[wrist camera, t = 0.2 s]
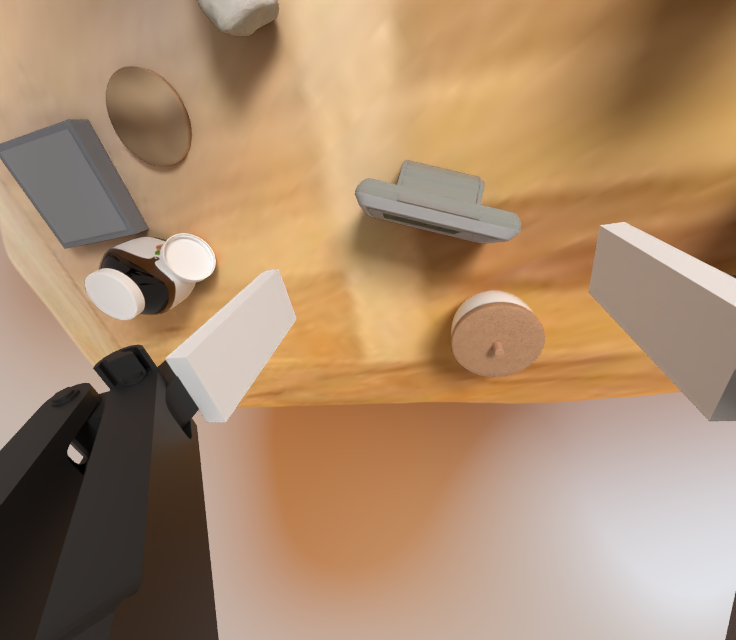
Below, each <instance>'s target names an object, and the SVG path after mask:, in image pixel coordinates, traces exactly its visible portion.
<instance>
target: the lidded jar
mask: <svg viewBox="0 0 736 640" xmlns="http://www.w3.org/2000/svg"><path fill="white" fill-rule="evenodd" d="M544 343H545V333H544V329H543V327H542V324H541V323H540V321H539V320H538V318H537V317H536V316H535V315H534V313H533V312H532V310H531V309H530V308H529V306H528V305H527V304H526V303H525V302H524V301H522V300H521V299H519V298H518V297H517V296H515V295H513V294H510V293H507V292H504V291H498V290H490V291H484V292H480V293H477V294H475V295H473V296H471V297H469V298H468V299H467V300H465V301H464V302H463V303H462V304H461V306H460V307H459V308H458V310H457V311H456V313H455V316H454V318H453V322H452V328H451V348H452V352H453V355H454V357H455V359H456V360H457V361H458V363H459V364H460V365H461V366H463V367H464V368H465V369H467V370H468V371H470V372H473V373H475V374H478V375H481V376H487V377H502V376H508V375H511V374H514V373H517V372H519V371H522V370H523V369H525V368H527V367H528V366H529V365H531V364H532V363H533V362H534V361H535V360H536V359H537V358H538V356H539V355H540V353H541V351H542V349H543V347H544Z"/></svg>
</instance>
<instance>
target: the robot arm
mask: <svg viewBox="0 0 736 640" xmlns="http://www.w3.org/2000/svg"><path fill="white" fill-rule="evenodd" d="M589 293H590V295H591V296H592V297H593V298H594V299H595V300H596V301H597V302H598V303H599V304H600V305H601V306H602V307H603V308H604V309H605V311H606V312H607V313H608V314H609V315H610V316H611V317H612V318H613V319H614V320H615V321H616V322H617V323H618V324H619V325H620V327H621V328H622V329H623V330H624V331H625V332H626V333H627V334H628V335H629V336H630V337H631V338H632V339H633V340H634V341H635V343H636V344H637V345H638V346H639V347H640V348H641V349H642V350H643V351H644V352H645V353H646V354H647V355H648V356H649V357H650V358H651V360H652V361H653V362H654V363H655V364H656V365H657V366H658V367H659V368H660V369H661V370H662V371H663V372H664V373H665V374H666V376H667V377H668V378H669V379H670V380H671V381H672V382H673V383H674V384H675V385H676V386H677V387H678V388H679V389H680V390H681V392H682V393H683V394H684V395H685V396H686V397H687V398H688V399H689V400H690V401H691V402H692V403H693V404H694V405H695V406H696V408H698V410H699V411H700V412H701V413H702V414H703V415H704V416H705V417H706V418H707V419H708V420H709V421H736V276H735V275H731V274H726V273H724V272H722V271H720V270H718V269H716V268H714V267H712V266H710V265H708V264H706V263H704V262H702V261H700V260H698V259H696V258H694V257H692V256H690V255H688V254H686V253H684V252H682V251H680V250H679V249H677V248H675V247H673V246H671V245H669V244H667V243H665V242H663V241H661V240H659V239H657V238H655V237H653V236H651V235H649V234H647V233H645V232H643V231H641V230H639V229H637V228H635V227H633V226H631V225H629V224H627V223H625V222H621V223H614V224H606V225H600V228H599V234H598V240H597V246H596V252H595V257H594V263H593V269H592V275H591V281H590V287H589ZM296 319H297V318H296V316H295V313H294V310H293V307H292V305H291V302H290V299H289V296H288V294H287V291H286V288H285V285H284V282H283V280H282V277H281V274H280V271H279V269H275V270H267V271H263V272H262V273H261V274H260V275H259V276H258V277H257V278H256V279H254V280H253V281H252V282H251V283H250V284H249V285H248V286H247V287H245V288H244V289H243V290H242V291H241V292H240V293H239V294H237V295H236V296H235V297H234V298H233V299H232V300H231V301H230V302H228V303H227V304H226V305H225V306H224V307H223V308H222V309H221V310H219V311H218V312H217V313H216V314H215V315H214V316H213V317H211V318H210V319H209V320H208V321H207V322H206V323H205V324H204V325H202V326H201V327H200V328H199V329H198V330H197V331H196V332H195V333H193V334H192V335H191V336H190V337H189V338H188V339H187V340H185V341H184V342H183V343H182V344H181V345H180V346H179V347H178V348H176V349H175V350H174V351H173V352H172V353H171V354H170V355H169V356H167V357H166V358H165V359H166V360H165V361H164V362H163V363H162V364H161V365H160V366H158V367H157V366H156V365H155V363H154V362H153V360H152V359H151V357H150V356H149V355H148V353H147V352H146V350H145V349H144V347H143V346H142V345H133V346H128V347H125V348H122V349H120V350H118V351H115V352H113V353H111V354H110V355H108V356H106V357H104V358H103V359H102V360H100V361H99V362H98V363H97V364H96V365H95V366H94V368H93V369H94V370H95V371H96V372H97V374H98V375H99V376H100V377H101V378H102V380H103V381H104V382H105V383H106V385H107V386H108V387H109V388H110V391H109V392H105V393H101V394H98V393H97V392H96V390H95V389H94V388H93V387H92V386H91V385H90V384H89V383H82V384H78V385H75V386H72V387H67V388H65V389H63V390H61V391H59V392H57V393H56V394H55V395H54V396H53V397H52V398H50V399H49V400H47V401H46V402H45V403H44V404H43V405H42V406H41V407H40V408H39V409H38V410H37V411H36V413H35V414H34V415H33V416H32V417H31V418H30V419H29V420H28V421H27V422H26V423H25V424H24V426H23V427H22V428H21V429H20V430H19V431H18V432H17V433H16V434H15V435H14V436H13V437H12V439H11V440H10V441H9V442H8V443H7V444H6V445H5V446H4V447H3V448H2V449H1V451H0V640H219V639H218V630H217V620H216V610H215V601H214V590H213V580H212V571H211V561H210V551H209V542H208V531H207V521H206V511H205V501H204V491H203V482H202V472H201V462H200V452H199V442H198V432H197V426H196V424H195V422H194V421H193V419H192V417H193V416H194V415H195V413H196V412H197V411H198V410H199V411H200V413H201V414H202V416H203V417H204V419H205V420H206V422H226V421H227V420H228V419H229V417H230V416H231V414H232V413H233V411H234V410H235V408H236V407H237V405H238V404H239V403H240V401H241V400H242V398H243V397H244V395H245V394H246V392H247V391H248V389H249V388H250V386H251V385H252V384H253V382H254V381H255V379H256V378H257V376H258V375H259V373H260V372H261V370H262V369H263V367H264V366H265V365H266V363H267V362H268V360H269V359H270V357H271V356H272V354H273V353H274V351H275V350H276V348H277V347H278V346H279V344H280V343H281V341H282V340H283V338H284V337H285V335H286V334H287V332H288V331H289V330H290V328H291V327H292V325H293V324H294V322H295V321H296ZM70 444H71V445H72V446H73V447H74V448H75V449H76V450H77V451H78V452H79V453H80V454H81V455H82V456H83V459H82V461H81V462H80V464H77V463H75V462H74V461H73V460H72V459H71V458H70V457H69V456H68V455H67V450H68V447H69V445H70ZM725 640H736V593H735V598H734V602H733V607H732V612H731V616H730V621H729V626H728V630H727V635H726V639H725Z"/></svg>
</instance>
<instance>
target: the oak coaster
mask: <svg viewBox="0 0 736 640" xmlns="http://www.w3.org/2000/svg"><path fill="white" fill-rule="evenodd" d="M106 105H107V110H108V114H109V118H110V120H111V123H112V125H113V127H114V129H115V131H116V133H117V135H118V136H119V138H120V139H121V141H122V142H123V143H124V144H125V146H126V147H127V148H128V149H129V150H130V151H131V152H132V153H133V154H135V155H136V156H137V157H139V158H140V159H142V160H143V161H145V162H147V163H150V164H153V165H157V166H166V165H172V164H176V163H178V162H180V161H181V160H182V159H183V158H184V157H185V156H186V155H187V153H188V151H189V148H190V145H191V137H192V133H191V124H190V120H189V116H188V113H187V110H186V108H185V106H184V104H183V102H182V100H181V98H180V97H179V95H178V94H177V92H176V91H175V90H174V89H173V87H172V86H171V85H170V84H169V83H168V82H167V81H166V80H164V79H163V78H162V77H161V76H159V75H158V74H156V73H154V72H152V71H150V70H147V69H143V68H138V67H124V68H121V69H119V70H117V71H116V72H115V73H114V74H113V75H112V77H111V78H110V80H109V82H108V85H107V90H106Z"/></svg>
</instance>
